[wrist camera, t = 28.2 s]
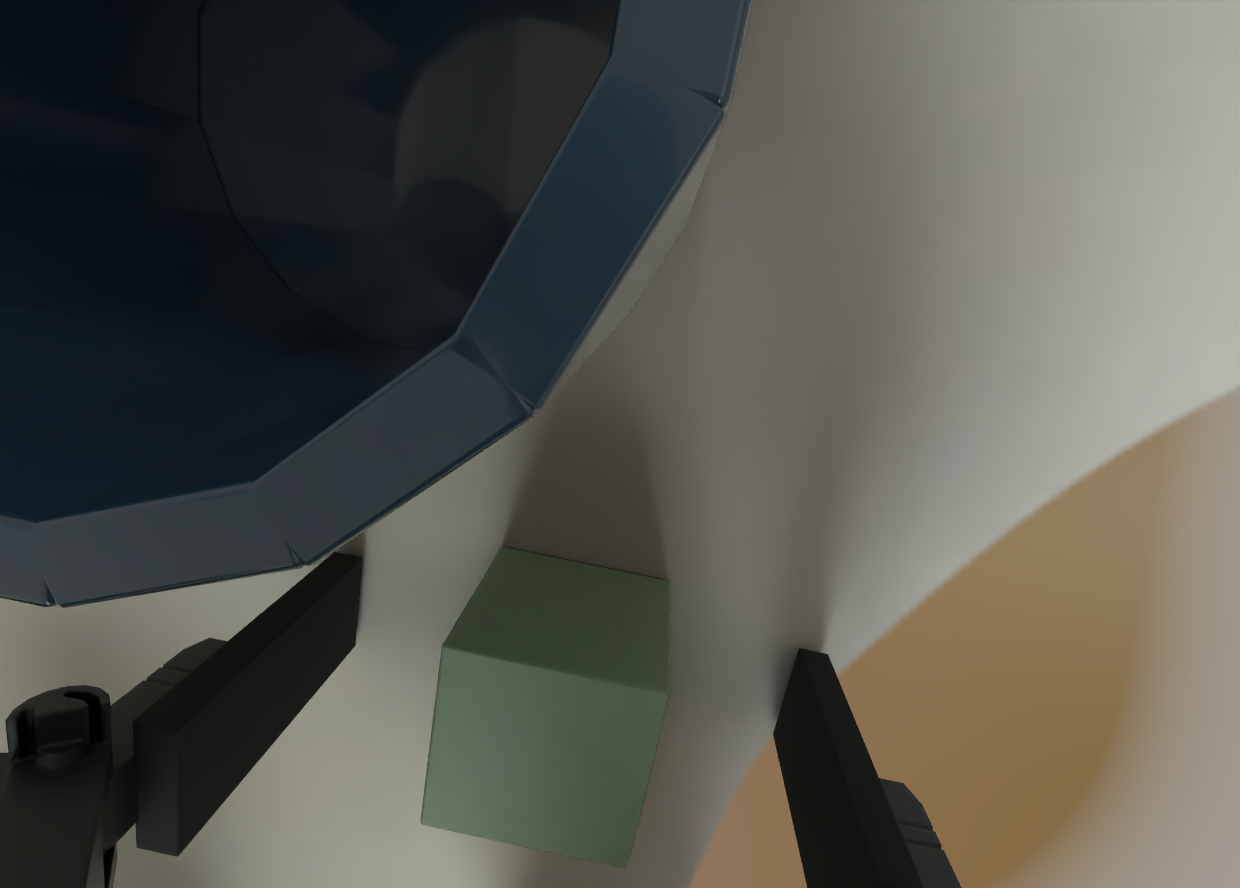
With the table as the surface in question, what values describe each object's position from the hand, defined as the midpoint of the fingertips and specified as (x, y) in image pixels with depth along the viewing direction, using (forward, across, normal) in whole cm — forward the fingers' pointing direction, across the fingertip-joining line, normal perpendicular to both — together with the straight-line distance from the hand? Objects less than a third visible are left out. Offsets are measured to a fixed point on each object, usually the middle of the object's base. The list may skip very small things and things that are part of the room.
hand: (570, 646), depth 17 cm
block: (0, 0, 0) cm, 0 cm away
